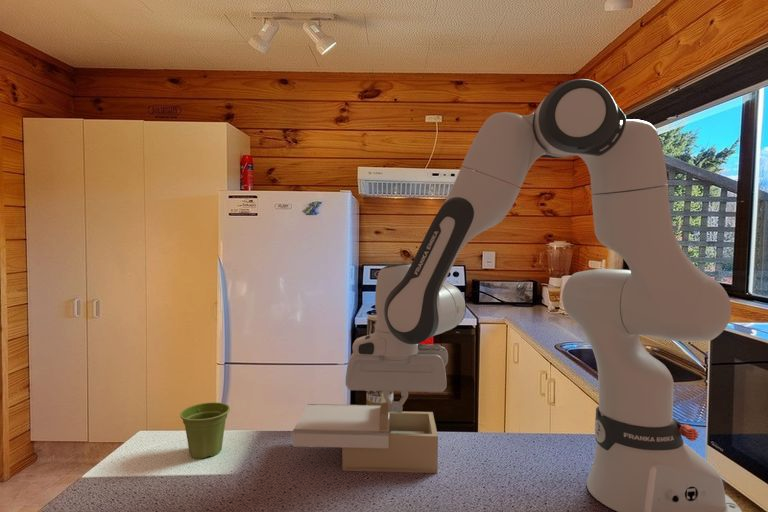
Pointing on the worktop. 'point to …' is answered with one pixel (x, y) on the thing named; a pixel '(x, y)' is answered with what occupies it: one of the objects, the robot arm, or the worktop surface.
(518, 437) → the worktop surface
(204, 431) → the plant pot
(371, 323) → the bark textured cylinder
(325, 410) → the lid
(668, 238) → the robot arm
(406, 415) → the tan open box
